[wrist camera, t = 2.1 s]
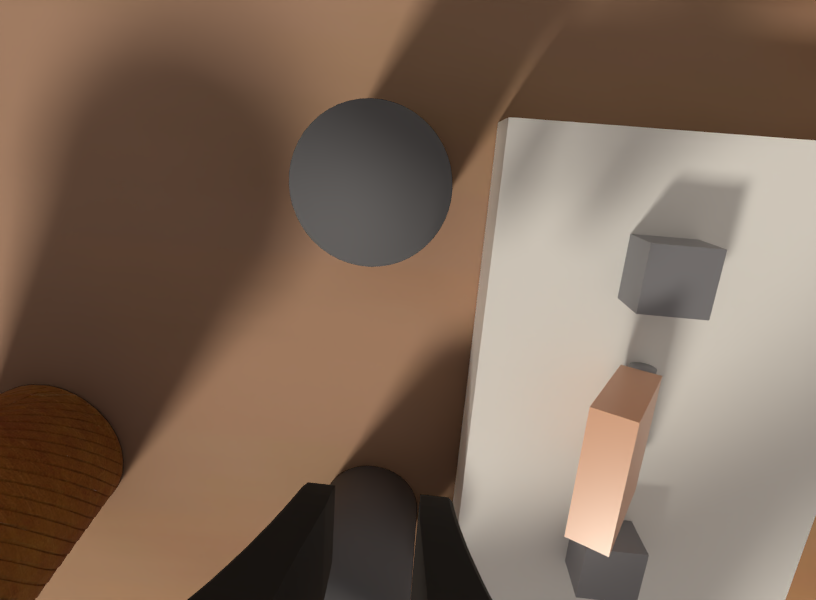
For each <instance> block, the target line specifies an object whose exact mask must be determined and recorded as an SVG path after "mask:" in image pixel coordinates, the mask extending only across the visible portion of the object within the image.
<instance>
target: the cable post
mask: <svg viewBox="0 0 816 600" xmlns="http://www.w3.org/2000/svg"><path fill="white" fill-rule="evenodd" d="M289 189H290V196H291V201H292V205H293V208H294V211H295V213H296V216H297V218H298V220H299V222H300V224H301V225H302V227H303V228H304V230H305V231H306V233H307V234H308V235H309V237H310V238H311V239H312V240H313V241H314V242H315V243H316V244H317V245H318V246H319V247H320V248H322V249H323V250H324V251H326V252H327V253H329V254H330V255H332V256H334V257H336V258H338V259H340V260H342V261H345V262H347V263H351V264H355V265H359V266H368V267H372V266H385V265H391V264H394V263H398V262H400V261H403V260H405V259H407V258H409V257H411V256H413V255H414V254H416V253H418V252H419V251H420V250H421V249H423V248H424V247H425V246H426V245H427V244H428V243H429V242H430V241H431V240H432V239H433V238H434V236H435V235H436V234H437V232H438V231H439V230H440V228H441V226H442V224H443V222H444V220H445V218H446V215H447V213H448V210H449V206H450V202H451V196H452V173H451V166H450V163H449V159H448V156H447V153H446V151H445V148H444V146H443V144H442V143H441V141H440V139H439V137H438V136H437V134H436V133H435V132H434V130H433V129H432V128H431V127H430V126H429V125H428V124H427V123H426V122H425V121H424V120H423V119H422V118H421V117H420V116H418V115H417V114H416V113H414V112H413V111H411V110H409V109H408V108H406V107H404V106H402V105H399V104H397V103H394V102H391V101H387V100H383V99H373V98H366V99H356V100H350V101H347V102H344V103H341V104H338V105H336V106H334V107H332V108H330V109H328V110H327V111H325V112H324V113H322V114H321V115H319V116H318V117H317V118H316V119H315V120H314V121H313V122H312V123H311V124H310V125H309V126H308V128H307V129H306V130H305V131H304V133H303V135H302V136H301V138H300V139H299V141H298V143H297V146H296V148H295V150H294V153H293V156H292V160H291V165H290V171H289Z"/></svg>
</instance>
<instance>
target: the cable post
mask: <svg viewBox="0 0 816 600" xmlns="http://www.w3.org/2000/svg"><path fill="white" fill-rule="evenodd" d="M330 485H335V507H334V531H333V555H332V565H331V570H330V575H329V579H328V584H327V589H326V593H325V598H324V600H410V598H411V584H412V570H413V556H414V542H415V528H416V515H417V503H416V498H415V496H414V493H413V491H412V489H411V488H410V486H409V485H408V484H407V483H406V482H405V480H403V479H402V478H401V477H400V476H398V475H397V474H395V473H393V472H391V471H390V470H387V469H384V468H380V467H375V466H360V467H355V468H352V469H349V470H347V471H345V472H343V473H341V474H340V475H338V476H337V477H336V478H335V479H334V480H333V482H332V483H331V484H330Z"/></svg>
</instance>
